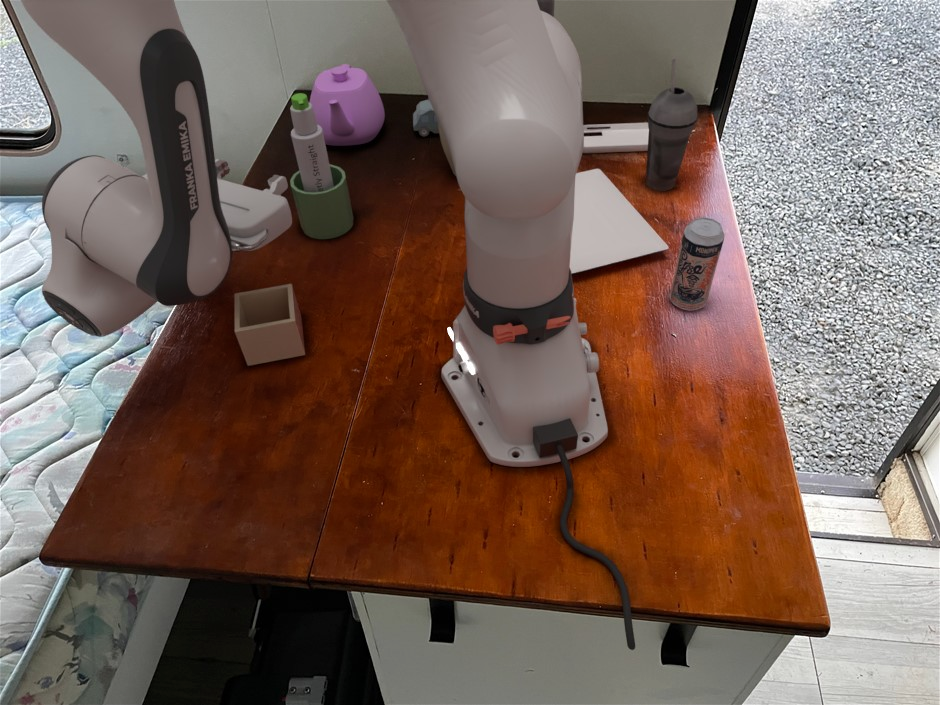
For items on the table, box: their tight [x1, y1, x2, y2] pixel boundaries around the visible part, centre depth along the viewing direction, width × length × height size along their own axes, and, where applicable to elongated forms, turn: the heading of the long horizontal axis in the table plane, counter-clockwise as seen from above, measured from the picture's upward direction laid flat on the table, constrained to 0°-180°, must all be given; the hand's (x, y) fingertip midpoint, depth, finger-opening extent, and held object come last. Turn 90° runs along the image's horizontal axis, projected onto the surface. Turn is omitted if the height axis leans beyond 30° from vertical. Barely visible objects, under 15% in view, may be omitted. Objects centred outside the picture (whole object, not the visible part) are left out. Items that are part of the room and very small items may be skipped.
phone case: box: [582, 122, 649, 154], centre depth 122 cm, size 7×1×15 cm
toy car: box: [412, 98, 439, 138], centre depth 127 cm, size 6×10×5 cm, turn 92°
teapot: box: [308, 63, 386, 147], centre depth 123 cm, size 20×13×12 cm, turn 2°
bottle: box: [289, 92, 334, 192], centre depth 102 cm, size 4×4×20 cm
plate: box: [570, 168, 670, 275], centre depth 105 cm, size 22×22×2 cm
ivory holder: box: [234, 283, 306, 367], centre depth 90 cm, size 7×7×6 cm
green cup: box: [289, 163, 355, 240], centre depth 106 cm, size 8×8×8 cm
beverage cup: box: [645, 58, 699, 192], centre depth 106 cm, size 7×7×20 cm
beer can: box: [669, 217, 725, 311], centre depth 90 cm, size 5×5×12 cm
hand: (252, 172), depth 91 cm, fingers open, 8 cm apart
